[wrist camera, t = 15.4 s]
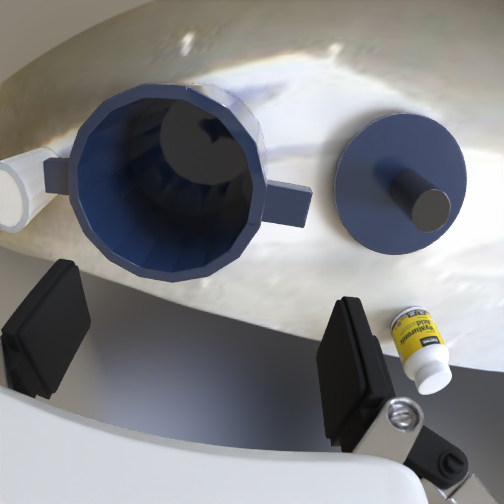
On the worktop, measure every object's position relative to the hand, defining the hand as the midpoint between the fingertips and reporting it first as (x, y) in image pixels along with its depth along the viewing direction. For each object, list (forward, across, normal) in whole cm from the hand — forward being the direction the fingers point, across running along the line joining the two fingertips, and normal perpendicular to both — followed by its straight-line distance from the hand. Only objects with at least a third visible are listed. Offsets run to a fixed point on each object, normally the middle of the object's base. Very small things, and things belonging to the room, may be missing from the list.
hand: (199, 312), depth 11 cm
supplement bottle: (+18, -22, +15) cm, 33 cm away
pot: (+18, +4, -1) cm, 19 cm away
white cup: (+18, +20, +2) cm, 27 cm away
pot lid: (+18, -15, -1) cm, 23 cm away
